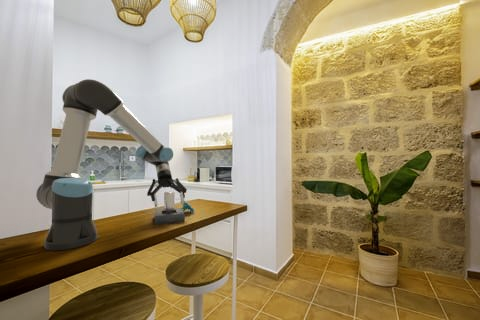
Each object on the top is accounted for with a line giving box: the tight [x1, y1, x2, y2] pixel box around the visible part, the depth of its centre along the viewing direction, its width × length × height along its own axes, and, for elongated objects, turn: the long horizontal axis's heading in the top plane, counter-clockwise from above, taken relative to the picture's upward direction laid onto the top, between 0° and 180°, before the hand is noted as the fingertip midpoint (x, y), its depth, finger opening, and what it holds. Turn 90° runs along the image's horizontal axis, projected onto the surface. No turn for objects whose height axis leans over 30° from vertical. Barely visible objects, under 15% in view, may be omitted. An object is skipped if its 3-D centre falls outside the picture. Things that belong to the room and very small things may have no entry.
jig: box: [154, 207, 186, 225], centre depth 107 cm, size 14×14×4 cm
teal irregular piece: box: [180, 201, 195, 213], centre depth 121 cm, size 11×6×10 cm
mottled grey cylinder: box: [163, 191, 175, 214], centre depth 107 cm, size 5×5×14 cm
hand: (170, 204), depth 105 cm, fingers open, 13 cm apart
